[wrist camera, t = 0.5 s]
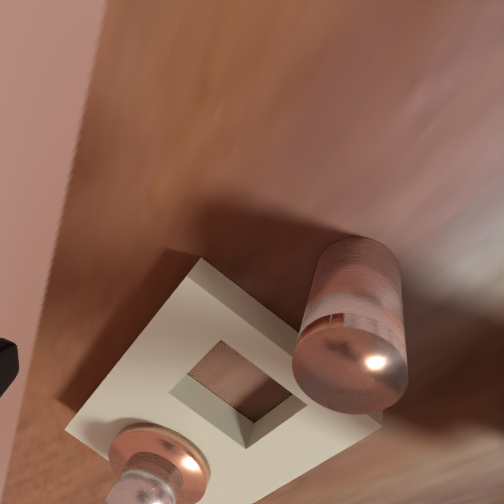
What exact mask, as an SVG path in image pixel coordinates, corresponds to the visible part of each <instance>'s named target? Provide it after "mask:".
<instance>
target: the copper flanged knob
mask: <svg viewBox="0 0 504 504" xmlns="http://www.w3.org/2000/svg"><path fill="white" fill-rule="evenodd" d="M108 458H109V462H110V465H111V467H112V469H113V471H114V472H115V474H116V475H117V476H118V479H117V481H116V482H115V484H114V486H113V487H112V489H111V491H110V493H109V494H108V496H107V498H106V500H105V501H104V504H195V503H197V502H199V501H200V500H201V499H202V497H203V496H204V494H205V491H206V488H207V486H208V483H209V480H210V476H211V470H210V466H209V463H208V461H207V459H206V457H205V456H204V454H203V453H202V451H201V450H200V449H199V448H198V447H197V446H196V445H195V444H194V443H193V442H192V441H190V440H189V439H188V438H186V437H185V436H183V435H182V434H180V433H178V432H176V431H174V430H172V429H170V428H167V427H165V426H162V425H158V424H153V423H134V424H130V425H127V426H126V427H124V428H123V429H122V430H121V431H120V432H119V433H118V435H117V436H116V438H115V439H114V441H113V443H112V444H111V446H110V448H109V452H108Z"/></svg>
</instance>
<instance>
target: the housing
mask: <svg viewBox="0 0 504 504" xmlns="http://www.w3.org/2000/svg"><path fill="white" fill-rule="evenodd" d="M298 335H299V333H298V332H297V331H295V330H294V329H293V328H292V327H290V326H289V325H288V324H286V323H285V322H284V321H283V320H281V319H280V318H279V317H277V316H276V315H275V314H274V313H272V312H271V311H270V310H268V309H267V308H266V307H264V306H263V305H262V304H261V303H259V302H258V301H257V300H255V299H254V298H253V297H252V296H250V295H249V294H248V293H246V292H245V291H244V290H243V289H241V288H240V287H239V286H237V285H236V284H235V283H234V282H232V281H231V280H230V279H228V278H227V277H226V276H224V275H223V274H222V273H221V272H219V271H218V270H217V269H215V268H214V267H213V266H212V265H210V264H209V263H208V262H206V261H205V260H204V259H203V258H200V259H199V261H198V262H197V263H196V264H195V266H194V267H193V268H192V269H191V271H190V272H189V273H188V274H187V276H186V277H185V278H184V279H183V281H182V282H181V283H180V284H179V286H178V287H177V288H176V289H175V291H174V292H173V293H172V294H171V296H170V297H169V298H168V299H167V301H166V302H165V303H164V305H163V306H162V307H161V308H160V310H159V311H158V312H157V313H156V315H155V316H154V317H153V318H152V320H151V321H150V322H149V323H148V325H147V326H146V327H145V328H144V330H143V331H142V332H141V333H140V335H139V336H138V337H137V338H136V340H135V341H134V342H133V343H132V345H131V346H130V347H129V349H128V350H127V351H126V352H125V354H124V355H123V356H122V357H121V359H120V360H119V361H118V362H117V364H116V365H115V366H114V367H113V369H112V370H111V371H110V372H109V374H108V375H107V376H106V377H105V379H104V380H103V381H102V382H101V384H100V385H99V386H98V387H97V389H96V390H95V391H94V393H93V394H92V395H91V396H90V398H89V399H88V400H87V401H86V403H85V404H84V405H83V406H82V408H81V409H80V410H79V411H78V413H77V414H76V415H75V417H74V418H73V419H72V420H71V422H70V423H69V424H68V426H67V427H66V428H65V429H64V430H66V431H67V432H69V433H70V434H71V435H73V436H74V437H76V438H77V439H79V440H80V441H81V442H83V443H84V444H86V445H87V446H89V447H90V448H91V449H93V450H94V451H96V452H97V453H99V454H100V455H101V456H103V457H104V458H106V459H107V460H109V458H108V452H109V448H110V446H111V444H112V443H113V441H114V439H115V438H116V436H117V435H118V433H119V432H120V431H121V430H122V429H123V428H124V427H126V426H127V425H130V424H134V423H153V424H158V425H162V426H165V427H167V428H170V429H172V430H174V431H176V432H178V433H180V434H182V435H183V436H185V437H186V438H188V439H189V440H190V441H192V442H193V443H194V444H195V445H196V446H197V447H198V448H199V449H200V450H201V451H202V453H203V454H204V456H205V457H206V459H207V461H208V463H209V466H210V470H211V476H210V480H209V483H208V486H207V488H206V491H205V494H204V496H203V497H202V499H201V500H200V501H199V502H197V503H195V504H252V503H254V502H256V501H258V500H259V499H261V498H263V497H264V496H266V495H268V494H269V493H271V492H273V491H275V490H276V489H278V488H280V487H281V486H283V485H285V484H286V483H288V482H290V481H291V480H293V479H295V478H297V477H298V476H300V475H302V474H303V473H305V472H307V471H308V470H310V469H312V468H314V467H315V466H317V465H319V464H320V463H322V462H324V461H325V460H327V459H329V458H330V457H332V456H334V455H336V454H337V453H339V452H341V451H342V450H344V449H346V448H347V447H349V446H351V445H353V444H354V443H356V442H358V441H359V440H361V439H363V438H364V437H366V436H368V435H370V434H371V433H373V432H375V431H376V430H378V429H380V428H381V427H383V410H382V411H379V412H375V413H371V414H361V415H355V414H345V413H340V412H336V411H333V410H330V409H328V408H325V407H323V406H321V405H320V404H318V403H316V402H315V401H313V400H312V399H311V398H309V397H308V396H307V395H306V394H305V393H304V392H303V391H302V390H301V388H300V387H299V386H298V384H297V382H296V380H295V378H294V375H293V371H292V358H293V354H294V351H295V347H296V343H297V339H298ZM220 340H222V341H223V342H225V343H226V344H227V345H229V346H230V347H231V348H233V349H234V350H235V351H237V352H238V353H239V354H241V355H242V356H243V357H245V358H246V359H247V360H249V361H250V362H251V363H253V364H254V365H255V366H257V367H258V368H259V369H261V370H262V371H263V372H264V373H266V374H267V375H268V376H270V377H271V378H272V379H274V380H275V381H276V382H278V383H279V384H280V385H282V386H283V387H284V388H286V389H287V390H288V391H290V392H291V393H292V395H291V396H290V397H288V398H287V399H286V400H284V401H283V402H282V403H280V404H279V405H278V406H277V407H275V408H274V409H273V410H271V411H270V412H269V413H267V414H266V415H265V416H263V417H262V418H261V419H259V420H258V421H257V422H255V423H253V422H252V421H250V420H249V419H247V418H246V417H245V416H243V415H242V414H241V413H239V412H238V411H237V410H235V409H234V408H233V407H231V406H230V405H229V404H227V403H226V402H224V401H223V400H222V399H220V398H219V397H218V396H216V395H215V394H214V393H212V392H211V391H210V390H208V389H207V388H206V387H204V386H203V385H202V384H200V383H199V382H197V381H196V380H195V379H193V378H192V377H191V376H189V375H188V374H187V373H188V372H189V371H190V370H191V369H192V368H193V367H194V366H195V365H196V364H197V363H198V362H199V361H200V360H201V359H202V358H203V357H204V356H205V355H206V354H207V353H208V352H209V351H210V350H211V349H212V348H213V347H214V346H215V345H216V344H217V343H218V342H219V341H220Z"/></svg>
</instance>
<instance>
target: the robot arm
mask: <svg viewBox="0 0 504 504" xmlns="http://www.w3.org/2000/svg"><path fill="white" fill-rule="evenodd" d="M18 371H19V360H18V349H17V345H16V344H15V343H13V342H11V341H9V340H6V339H4V338H0V397H1V396H2V395H3V393H4V392H5V391H6V390H7V388H8V387H9V386H10V384H11V383H12V381H14V379H15V378H16V376H17V374H18Z"/></svg>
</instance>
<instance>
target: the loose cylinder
mask: <svg viewBox="0 0 504 504" xmlns="http://www.w3.org/2000/svg"><path fill="white" fill-rule="evenodd" d="M292 371H293V375H294V378H295V380H296V382H297V384H298V386H299V387H300V388H301V390H302V391H303V392H304V393H305V394H306V395H307V396H308V397H309V398H311V399H312V400H313V401H315V402H316V403H318V404H320V405H321V406H323V407H325V408H328V409H330V410H333V411H336V412H340V413H345V414H355V415H361V414H371V413H375V412H379V411H382V410H384V409H386V408H388V407H390V406H392V405H393V404H395V403H396V402H397V401H398V400H399V399H400V398H401V397H402V395H403V394H404V392H405V390H406V388H407V384H408V365H407V352H406V340H405V328H404V315H403V303H402V291H401V278H400V268H399V264H398V262H397V259H396V258H395V256H394V254H393V253H392V252H391V251H390V250H389V249H388V248H387V247H386V246H384V245H383V244H381V243H379V242H377V241H375V240H372V239H369V238H363V237H349V238H345V239H341V240H339V241H337V242H334V243H333V244H331V245H330V246H329V247H327V248H326V249H325V250H324V252H323V253H322V254H321V256H320V258H319V260H318V263H317V267H316V271H315V275H314V278H313V282H312V286H311V290H310V294H309V297H308V301H307V305H306V309H305V313H304V316H303V320H302V324H301V328H300V332H299V335H298V339H297V343H296V347H295V351H294V354H293V358H292Z"/></svg>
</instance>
